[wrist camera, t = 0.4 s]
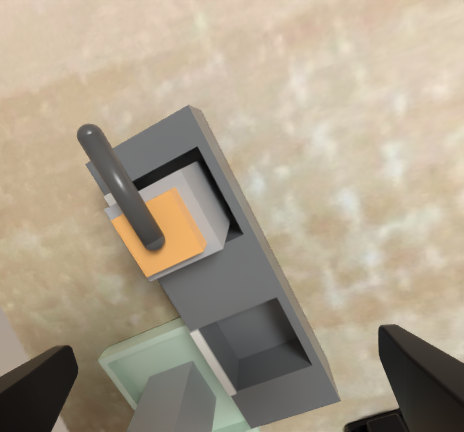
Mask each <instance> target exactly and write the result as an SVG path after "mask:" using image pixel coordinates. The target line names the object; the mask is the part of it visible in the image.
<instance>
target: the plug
mask: <svg viewBox="0 0 464 432" xmlns="http://www.w3.org/2000/svg"><path fill="white" fill-rule="evenodd" d="M215 405H216V396H215V395H214V393H213V391H212V390H211V388H210V387H209V385H208V384H207V382H206V381H205V379H204V377H203V376H202V374H201V373H200V371H199V370H198V368H197V367H196V365H195V363H194V362H193V360H192V361H190V362H187V363H184V364H182V365H179V366H176V367H174V368H171V369H168V370H166V371H163V372H160V373H158V374H155V375H153V376H150V377H149V379H148V382H147V384H146V386H145V389H144V391H143V393H142V396H141V398H140V400H139V403H138V405H137V407H136V410H135V412H134V414H133V417H132V419H131V421H130V424H129V426H128V429H127V431H126V432H212V427H213V420H214V413H215Z"/></svg>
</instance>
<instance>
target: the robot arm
mask: <svg viewBox="0 0 464 432" xmlns="http://www.w3.org/2000/svg"><path fill="white" fill-rule="evenodd" d="M378 345H379V357H380V360H381V363H382V365H383V368H384V370H385V373H386V375H387V378H388V380H389V382H390V385H391V387H392V390H393V392H394V395H395V397H396V400H397V402H398V405H399V407H400V410H396V411H393V412H390V413H386V414H383V415H379V416H376V417H373V418H369V419H366V420H362V421H359V422H356V423H352V424H349V425H348V426H347V431H348V432H464V363H463V362H461V361H459V360H457V359H456V358H454V357H452V356H450V355H449V354H447V353H445V352H443V351H442V350H440V349H438V348H436V347H435V346H433V345H431V344H429V343H428V342H426V341H424V340H422V339H421V338H419V337H417V336H415V335H414V334H412V333H410V332H408V331H407V330H405V329H403V328H401V327H400V326H398V325H395V324H390V325H381V326H380V327H379V329H378ZM77 374H78V365H77V362H76V359H75V356H74V353H73V350H72V348H71V347H70V346H68V345H61V346H55V347H53V348H51V349H49V350H47V351H46V352H44V353H42V354H40V355H38V356H37V357H35V358H33V359H31V360H30V361H28V362H26V363H24V364H22V365H21V366H19V367H17V368H15V369H13V370H12V371H10V372H8V373H6V374H5V375H3V376H1V377H0V432H51V431H52V429H53V427H54V425H55V423H56V421H57V418H58V416H59V414H60V412H61V410H62V408H63V405H64V403H65V401H66V399H67V397H68V394H69V392H70V390H71V388H72V386H73V384H74V381H75V379H76V377H77Z"/></svg>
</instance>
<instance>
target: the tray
mask: <svg viewBox="0 0 464 432" xmlns="http://www.w3.org/2000/svg"><path fill="white" fill-rule="evenodd" d="M192 360H193V362H194V363H195V365H196V367H197V368H198V370H199V371H200V373H201V374H202V376H203V377H204V379H205V381H206V382H207V384H208V385H209V387H210V388H211V390H212V391H213V393H214V395H215V396H216V405H215V413H214V420H213V427H212V432H260V426H259V427H256V428H253V429H251V428H250V426H249V425H248V423H247V421H246V420H245V418H244V417H243V415H242V413H241V412H240V410H239V409H238V407H237V405H236V404H235V402H234V401H233V399H232V397H231V396H229V395H228V394H227V392H226V391H225V389H224V387H223V386H222V384H221V383H220V381H219V380H218V378H217V376H216V375H215V373H214V372H213V370H212V368H211V367H210V365H209V364H208V362H207V360H206V359H205V357H204V356H203V354H202V352H201V351H200V349H199V348H198V346H197V345H196V343H195V341H194V340H193V338H192V337H191V335H190V330H189V329H188V327H187V326H186V324H185V322H184V321H183V319H182V318H181V317H180V318H177V319H175V320H172V321H170V322H167V323H165V324H163V325H160V326H158V327H155V328H153V329H151V330H148V331H146V332H143V333H141V334H139V335H136V336H134V337H131V338H129V339H126V340H124V341H122V342H119V343H117V344H114V345H112V346H110V347H107V348H106V349H105V350H104V352H103V353H102V355H101V356H100V358H99V359H98V362H99V364H100V365H101V366H102V368H103V369H104V370H105V372H106V373H107V374H108V376H109V377H110V379H111V380H112V381H113V383H114V384H115V385H116V387H117V388H118V389H119V391H120V392H121V393H122V395H123V396H124V397H125V399H126V400H127V402H128V403H129V404H130V406H131V407H132V408H133V410H134V411H135V410H136V407H137V405H138V403H139V400H140V398H141V396H142V393H143V391H144V389H145V386H146V384H147V382H148V379H149V377H150V376H153V375H155V374H158V373H160V372H163V371H166V370H168V369H171V368H174V367H176V366H179V365H182V364H184V363H187V362H190V361H192Z"/></svg>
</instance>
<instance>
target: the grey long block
mask: <svg viewBox="0 0 464 432" xmlns="http://www.w3.org/2000/svg"><path fill="white" fill-rule="evenodd" d="M113 150H114V152H115V153H116V155H117V157H118V158H119V160H120V162H121V164H122V165H123V167H124V169H125V170H126V172H127V174H128V175H129V177H130V179H131V180H132V182H133V184H134V185H135V187H136V189H137V190H138V191H140V190H142V189H144V188H146V187H148V186H149V185H151V184H153V183H155V182H157V181H159V180H161V179H163V178H165V177H166V176H168V175H170V174H172V173H174V172H176V171H178V170H180V169H182V168H184V167H186V166H188V165H190V164H192V163H194V162H196V161H198V160H200V159H202V160H203V162H204V164H205V166H206V167H207V169H208V171H209V173H210V175H211V177H212V179H213V181H214V183H215V185H216V186H217V188H218V190H219V192H220V194H221V196H222V198H223V200H224V202H225V204H226V205H227V207H228V209H229V211H230V213H231V215H232V217H231V221H230V225H229V228H228V232H227V236H226V240H225V244H224V248H223V249H221V250H219V251H217V252H215V253H213V254H210V255H208V256H206V257H204V258H202V259H199V260H197V261H195V262H193V263H191V264H188V265H186V266H184V267H182V268H179V269H177V270H175V271H173V272H171V273H168V274H166V275H164V276H162V277H160V278H157V279H158V281H159V283H160V284H161V286H162V287H163V289H164V291H165V292H166V294H167V295H168V297H169V298H170V300H171V302H172V303H173V305H174V306H175V308H176V310H177V311H178V313H179V314H180V316H181V318H182V319H183V321H184V322H185V324H186V326H187V327H188V329H189V330H190V335H191V337H192V338H193V340H194V341H195V343H196V345H197V346H198V348H199V349H200V351H201V352H202V354H203V356H204V357H205V359H206V360H207V362H208V364H209V365H210V367H211V368H212V370H213V372H214V373H215V375H216V376H217V378H218V380H219V381H220V383H221V384H222V386H223V387H224V389H225V391H226V392H227V394H228V395H229V396H231V397H232V399H233V401H234V402H235V404H236V405H237V407H238V409H239V410H240V412H241V413H242V415H243V417H244V418H245V420H246V421H247V423H248V425H249V426H250V428H251V429H253V428H256V427H259V426H262V425H265V424H269V423H272V422H275V421H278V420H282V419H285V418H288V417H291V416H294V415H298V414H301V413H304V412H307V411H311V410H314V409H317V408H320V407H323V406H327V405H330V404H333V403H336V402H339V401H341V400H340V397H339V394H338V391H337V388H336V385H335V382H334V379H333V376H332V373H331V370H330V367H329V364H328V361H327V358H326V356H325V354H324V352H323V350H322V348H321V346H320V344H319V342H318V340H317V338H316V336H315V334H314V332H313V330H312V328H311V326H310V324H309V322H308V320H307V318H306V316H305V314H304V312H303V310H302V309H301V307H300V305H299V303H298V301H297V299H296V297H295V295H294V293H293V291H292V289H291V287H290V285H289V283H288V281H287V279H286V277H285V275H284V273H283V271H282V269H281V267H280V265H279V263H278V261H277V259H276V257H275V255H274V253H273V251H272V249H271V247H270V245H269V243H268V241H267V239H266V237H265V235H264V233H263V231H262V230H261V228H260V226H259V224H258V222H257V220H256V218H255V216H254V214H253V212H252V210H251V208H250V206H249V204H248V202H247V200H246V198H245V196H244V194H243V192H242V190H241V188H240V186H239V184H238V182H237V180H236V178H235V176H234V174H233V172H232V170H231V168H230V166H229V164H228V162H227V160H226V158H225V156H224V154H223V153H222V151H221V149H220V147H219V145H218V143H217V141H216V139H215V137H214V135H213V133H212V131H211V129H210V127H209V125H208V123H207V121H206V119H205V117H204V115H203V113H202V111H201V110H199V109H196V108H194V107H192V106H190V105H188V106H186V107H184V108H182V109H181V110H179V111H177V112H175V113H174V114H172V115H170V116H168V117H167V118H165V119H163V120H161V121H160V122H158V123H156V124H154V125H153V126H151V127H149V128H147V129H146V130H144V131H142V132H141V133H139V134H137V135H135V136H134V137H132V138H130V139H128V140H127V141H125V142H123V143H121V144H120V145H118V146H116V147H114V148H113ZM86 166H87V168H88V169H89V171H90V172H91V174H92V176H93V177H94V179H95V180H96V182H97V184H98V185H99V187H100V188H101V190H102V192H103V193H104V195H105V196H104V198H105V200H106V201H107V203H108V205H109V206H112V205H113V204H115V203H117V202H116V201H115V199H114V197H113V196H112V194H111V193H110V191H109V189H108V188H107V186H106V185H105V183H104V181H103V180H102V178H101V177H100V175H99V173H98V172H97V170H96V168H95V167H94V165H93V164H92V162H91V161H90V162H88V163H87V164H86Z"/></svg>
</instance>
